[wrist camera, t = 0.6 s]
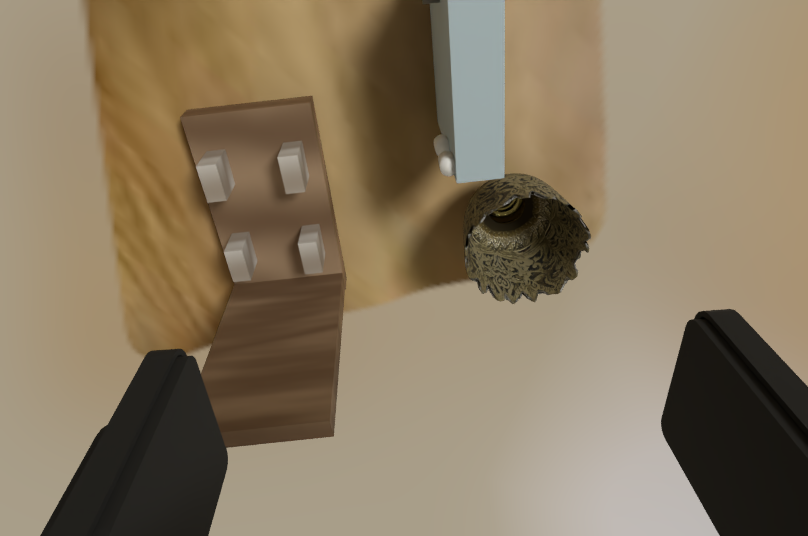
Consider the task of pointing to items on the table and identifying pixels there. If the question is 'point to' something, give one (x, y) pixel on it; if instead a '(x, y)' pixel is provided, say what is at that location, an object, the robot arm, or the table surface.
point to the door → (469, 87)
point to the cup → (522, 238)
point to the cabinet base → (272, 270)
